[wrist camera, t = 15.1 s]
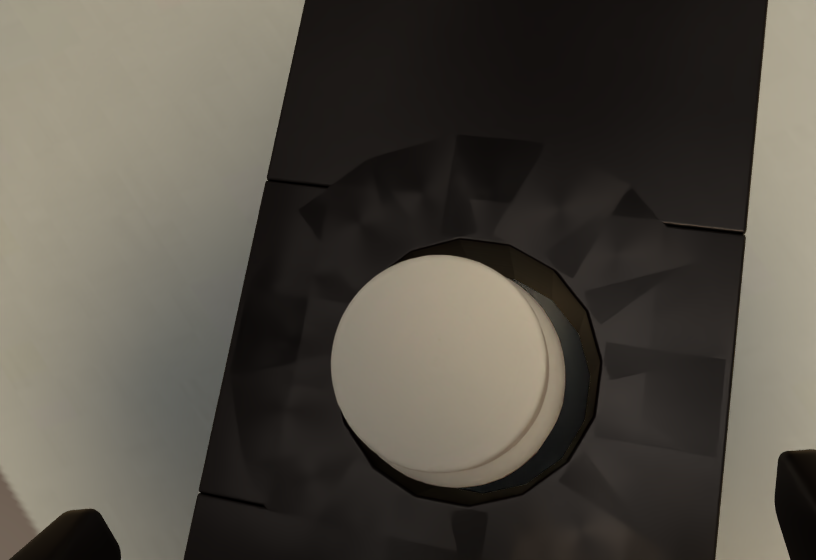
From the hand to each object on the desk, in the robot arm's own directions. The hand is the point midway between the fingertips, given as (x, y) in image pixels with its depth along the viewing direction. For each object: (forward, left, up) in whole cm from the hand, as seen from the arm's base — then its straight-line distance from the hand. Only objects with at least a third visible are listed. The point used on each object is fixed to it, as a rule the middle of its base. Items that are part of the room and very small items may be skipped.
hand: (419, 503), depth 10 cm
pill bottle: (+2, +1, -12) cm, 12 cm away
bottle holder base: (+10, +3, -12) cm, 16 cm away
